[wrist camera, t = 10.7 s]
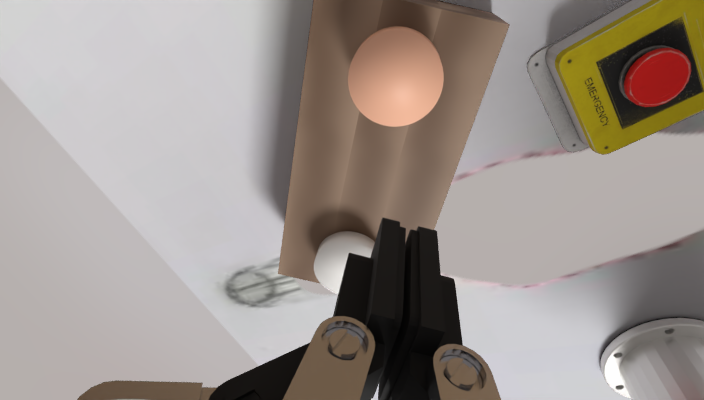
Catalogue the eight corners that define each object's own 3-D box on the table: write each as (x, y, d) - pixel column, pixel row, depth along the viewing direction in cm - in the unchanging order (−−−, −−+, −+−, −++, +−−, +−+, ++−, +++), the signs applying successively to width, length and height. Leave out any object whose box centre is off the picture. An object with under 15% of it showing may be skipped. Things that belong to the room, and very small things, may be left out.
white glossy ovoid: (392, 202, 39) (389, 252, 32) (379, 248, 41) (373, 302, 35) (334, 188, 39) (319, 236, 32) (325, 235, 41) (309, 287, 35)
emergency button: (535, 72, 28) (805, -77, 23) (521, 59, 32) (749, -72, 26) (583, 177, 31) (828, 69, 26) (565, 153, 35) (775, 55, 30)
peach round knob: (446, 23, 29) (456, 43, 23) (424, 99, 32) (427, 135, 26) (369, 6, 29) (358, 20, 23) (354, 83, 32) (340, 115, 26)
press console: (492, 12, 30) (509, 24, 25) (407, 261, 42) (406, 303, 37) (331, -24, 30) (316, -20, 25) (293, 235, 42) (277, 273, 37)
